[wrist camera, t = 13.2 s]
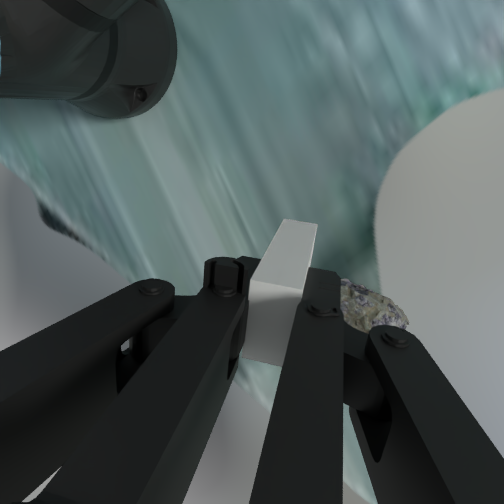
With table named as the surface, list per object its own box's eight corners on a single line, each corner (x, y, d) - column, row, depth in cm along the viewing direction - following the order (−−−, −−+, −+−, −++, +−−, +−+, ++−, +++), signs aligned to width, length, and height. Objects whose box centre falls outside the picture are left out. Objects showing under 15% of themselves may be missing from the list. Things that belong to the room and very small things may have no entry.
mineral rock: (410, 310, 44) (428, 362, 35) (347, 362, 49) (348, 419, 40) (328, 241, 44) (324, 276, 35) (272, 300, 48) (255, 344, 39)
